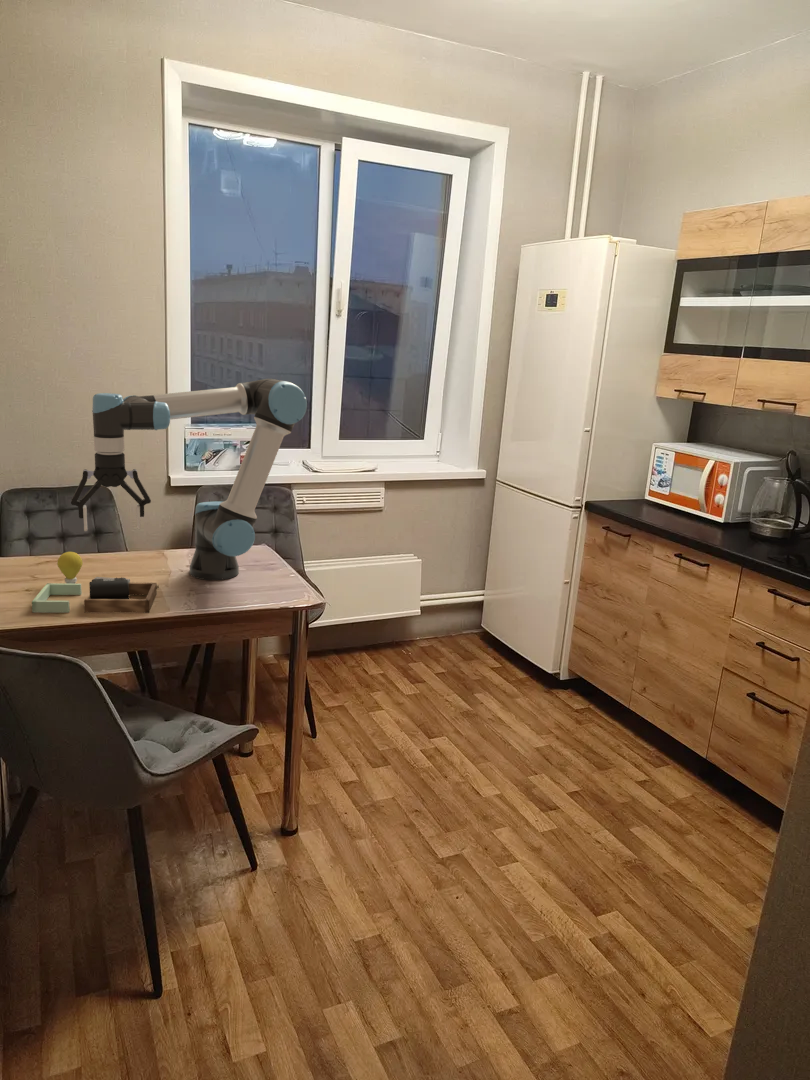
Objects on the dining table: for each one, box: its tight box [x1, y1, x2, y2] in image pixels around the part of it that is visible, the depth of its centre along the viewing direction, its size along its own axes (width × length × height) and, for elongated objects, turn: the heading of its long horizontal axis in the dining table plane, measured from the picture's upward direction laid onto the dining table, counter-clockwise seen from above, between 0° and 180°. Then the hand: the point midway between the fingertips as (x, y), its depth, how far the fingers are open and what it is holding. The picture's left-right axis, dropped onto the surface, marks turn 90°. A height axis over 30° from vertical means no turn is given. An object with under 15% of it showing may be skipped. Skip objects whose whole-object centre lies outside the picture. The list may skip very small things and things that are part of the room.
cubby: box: [83, 581, 158, 614], centre depth 211 cm, size 16×15×4 cm
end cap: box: [89, 576, 130, 599], centre depth 210 cm, size 10×7×7 cm
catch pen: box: [31, 582, 82, 614], centre depth 208 cm, size 9×15×3 cm, turn 10°
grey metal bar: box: [94, 576, 131, 582], centre depth 227 cm, size 10×2×2 cm, turn 90°
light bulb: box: [57, 551, 83, 584], centre depth 222 cm, size 7×7×10 cm
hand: (112, 529), depth 209 cm, fingers open, 13 cm apart
